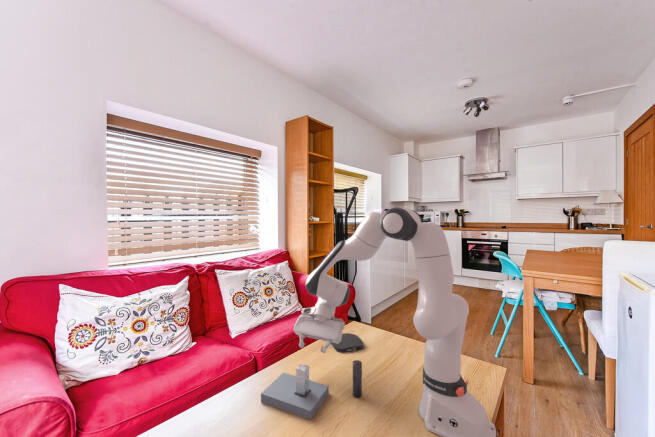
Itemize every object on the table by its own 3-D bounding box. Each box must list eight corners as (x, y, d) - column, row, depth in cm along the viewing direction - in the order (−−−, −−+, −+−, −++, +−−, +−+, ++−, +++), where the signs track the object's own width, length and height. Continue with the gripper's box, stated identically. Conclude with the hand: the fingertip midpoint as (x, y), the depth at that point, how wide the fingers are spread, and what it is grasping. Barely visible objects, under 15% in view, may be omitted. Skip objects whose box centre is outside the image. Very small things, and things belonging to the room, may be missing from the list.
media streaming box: (353, 336, 148) (353, 331, 148) (365, 349, 134) (365, 343, 134) (328, 340, 144) (328, 335, 143) (337, 354, 130) (337, 348, 130)
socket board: (328, 393, 101) (328, 385, 101) (310, 420, 89) (310, 410, 89) (283, 379, 110) (283, 372, 110) (260, 401, 97) (260, 393, 97)
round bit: (363, 394, 101) (363, 362, 100) (357, 399, 98) (357, 366, 98) (356, 390, 103) (356, 359, 103) (350, 394, 101) (350, 362, 100)
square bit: (309, 398, 99) (309, 365, 98) (304, 404, 96) (304, 370, 95) (301, 396, 100) (301, 363, 100) (296, 401, 97) (296, 368, 97)
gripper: (348, 323, 112) (338, 358, 103) (304, 315, 120) (292, 347, 112) (344, 316, 108) (334, 352, 99) (299, 308, 116) (286, 341, 107)
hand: (311, 349), depth 105 cm, fingers open, 8 cm apart
